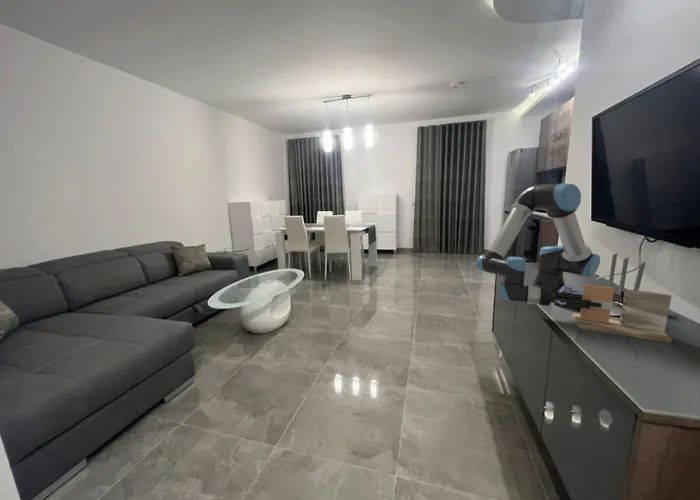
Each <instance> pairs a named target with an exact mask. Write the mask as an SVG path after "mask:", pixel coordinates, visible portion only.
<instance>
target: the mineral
mask: <svg viewBox="0 0 700 500" xmlns="http://www.w3.org/2000/svg"><path fill="white" fill-rule="evenodd" d="M559 291H560V292H565V293H572V294H579V295H583V291H584V290H583V291H582V290H575V289H574V290H573V287H572V286H563V287H562V288H561V289H559ZM553 304H555V305H557V304H556V303H553Z"/></svg>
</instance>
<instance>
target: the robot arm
mask: <svg viewBox="0 0 700 500" xmlns="http://www.w3.org/2000/svg"><path fill="white" fill-rule="evenodd" d="M581 198H582V193H581V191H580V189H579V187H578V186H577V185H576V184H572V183H566V182H565V183H563V182H561V183H546V184H545V183H544V184H541V183H540V184H539V183H538V184H534V185H532V186H530V187H528V188H525V190H523V191H522V192H521V193H519V195H518V196H517V197H516V198H515V200H514V201H513V203H512V204H511V207H510V210H511V211H510V212H509V214H508V216H507V218H506V219H505V221H504V223H503V224H502V226H501V229H500V230H499V231H498V233H497V235H496V236H495V239H494V240H493V242H492V244H491V246H490V247H489V249H488V251H487V252H486V254H481V255H480V256H478V257H477V259H476V262H475V263H476V265H475V266H476V268H477V269H478V270H480V271H482V272H484V273H489V274H494V275H497V276H501V277H504V281H503V282H500V283H499V286H498V299H500V300H503V301H504V300H505V301H507V302H508V301H509V302H515V303H516V302H517V303H525V304H529V305H538V304H539V305H540V306H546V307H549V306H550V305H551V303H553V304H554V303H556V304H555V305H559V307H569V308H579V309H581V308H587V309H590V307H595V308H602V309H610V310H612V308H613V301H612V302H605V301H596V300H591V301H590V300H583V299H582V298H583V295H579V294H572V293H565V292H560V291H559V289H561V288H562V287H563V286H566V283H565V282H566V281H565V278H564V273H567V274H571V275H576V276H581V277H587V278H589V277H593V276H594V275H595V274H596V273H597V271H598V269H599V266H600V264H601V257H600V255H599V254H596V253H593V252H592V249H591V248H590V247H589V246H587V245H586V243H585V240H584V237H583V233H582V230H581V228H580V225H579V222H578V218H577V214H576V211H577V210H578V208H579V207H580V205H581V202H582V199H581ZM536 210H540V211H541V210H543V211H545V212H546V215H547V216H548V218H550V219H552V221H553V222H554V225H555V228H556V230H557V233H558V236H559V239H560V241H561V244H562V246H561V245H551V246H543V247H541V248H540V251H539V255H538V256H539V257H538V264H537V265H538V268H537V273H536V274H535V277H534V279H533V281H532V285H525V277H526V270H527V267H526V263H527V261H526V259H525V258H523V257H521V256H507V258H506V255H507V254H508V252H509V250H510V249H511V247H512V244H514V241H515V240H516V237H517V236H518V234H519V233H520V231H521V229H522V227H523V225H524V223H525V222H526V220H527V218H528V217H529V216H532V214H533V213H534V211H536ZM505 258H506V259H505Z"/></svg>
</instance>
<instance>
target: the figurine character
mask: <svg viewBox="0 0 700 500" xmlns="http://www.w3.org/2000/svg"><path fill="white" fill-rule="evenodd" d="M624 293H625V291H621V292H620V294H618V293H617V292H615V293H614V292H613V298H612V303H613V302H618V303H622V304H623V299H624Z"/></svg>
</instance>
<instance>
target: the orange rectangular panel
mask: <svg viewBox="0 0 700 500" xmlns="http://www.w3.org/2000/svg"><path fill="white" fill-rule="evenodd" d="M583 285H584V287H583V298H582V299H583V300H590V301H591V300H596V301H605V302H612V303H613V301H612V298H613V294H614V291H615V288H614V287H613V286H604V285H596V284H588V283H587V284H583ZM611 310H612V309H611ZM611 310H610V309H602V308H595V307H590V309H587V308H580V312H579V313H580V318H581V319H583V320H590V321H597V322H603V323H609V317H610V316H611Z"/></svg>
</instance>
